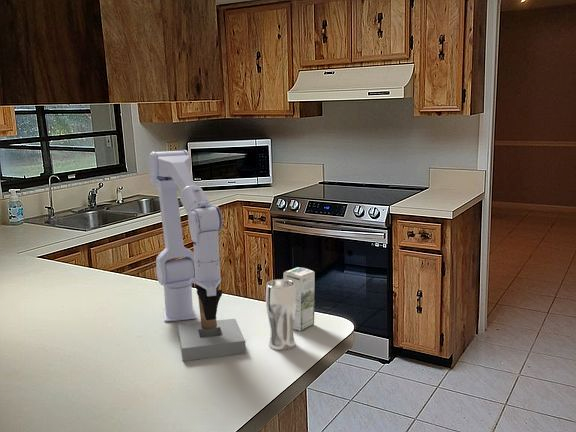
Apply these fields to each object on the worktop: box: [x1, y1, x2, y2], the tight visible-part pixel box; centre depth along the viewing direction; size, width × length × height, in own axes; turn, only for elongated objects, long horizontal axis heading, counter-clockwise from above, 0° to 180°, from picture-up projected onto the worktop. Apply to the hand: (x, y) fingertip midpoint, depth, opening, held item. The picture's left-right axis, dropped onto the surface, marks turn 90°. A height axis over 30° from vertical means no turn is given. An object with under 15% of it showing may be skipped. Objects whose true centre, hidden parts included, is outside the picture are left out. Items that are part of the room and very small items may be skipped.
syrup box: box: [282, 266, 316, 332], centre depth 137 cm, size 6×6×14 cm
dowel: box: [197, 295, 218, 330], centre depth 127 cm, size 4×4×8 cm
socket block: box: [177, 318, 246, 362], centre depth 128 cm, size 14×14×3 cm
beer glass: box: [265, 278, 296, 351], centre depth 126 cm, size 7×7×15 cm
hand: (209, 316), depth 127 cm, fingers closed on dowel, 4 cm apart
